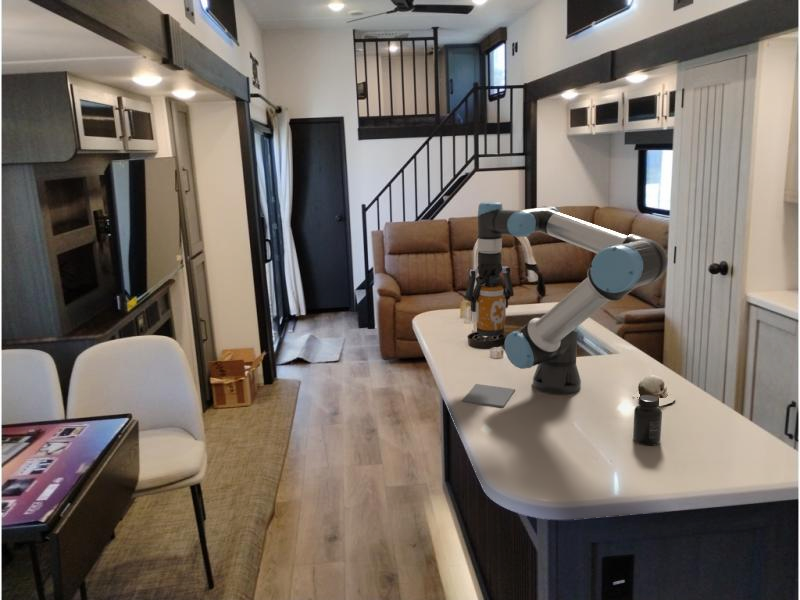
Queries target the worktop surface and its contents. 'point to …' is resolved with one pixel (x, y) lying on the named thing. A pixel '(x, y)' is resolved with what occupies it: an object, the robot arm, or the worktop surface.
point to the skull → (653, 387)
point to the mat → (489, 395)
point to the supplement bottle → (647, 421)
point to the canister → (491, 308)
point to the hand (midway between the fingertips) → (489, 319)
